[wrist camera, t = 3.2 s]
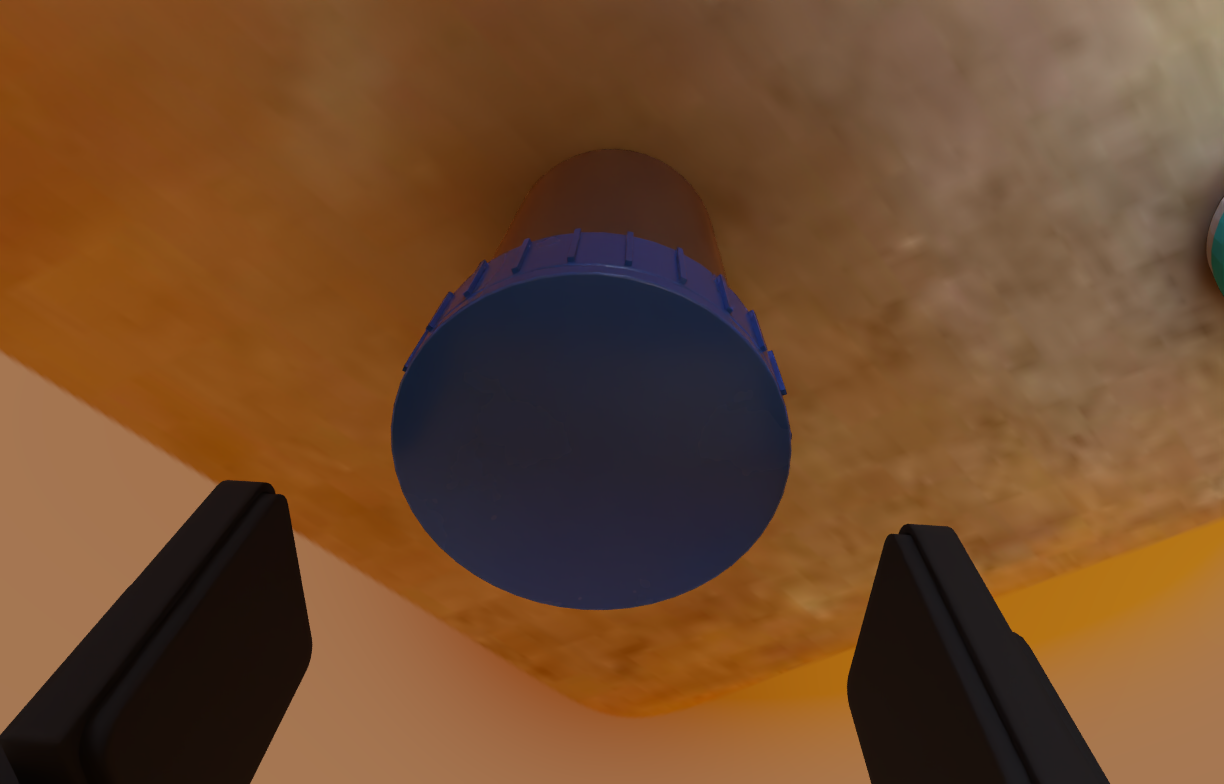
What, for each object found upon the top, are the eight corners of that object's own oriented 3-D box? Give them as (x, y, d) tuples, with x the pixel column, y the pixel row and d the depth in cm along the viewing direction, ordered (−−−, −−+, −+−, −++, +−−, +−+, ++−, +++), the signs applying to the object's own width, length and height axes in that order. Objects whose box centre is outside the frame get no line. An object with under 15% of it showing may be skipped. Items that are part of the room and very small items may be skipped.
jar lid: (608, 141, 12) (602, 171, 10) (847, 416, 14) (877, 480, 12) (346, 386, 14) (303, 444, 13) (587, 590, 17) (580, 665, 15)
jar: (620, 101, 20) (601, 205, 11) (756, 261, 22) (835, 463, 13) (469, 244, 22) (348, 433, 13) (606, 380, 24) (583, 626, 15)
